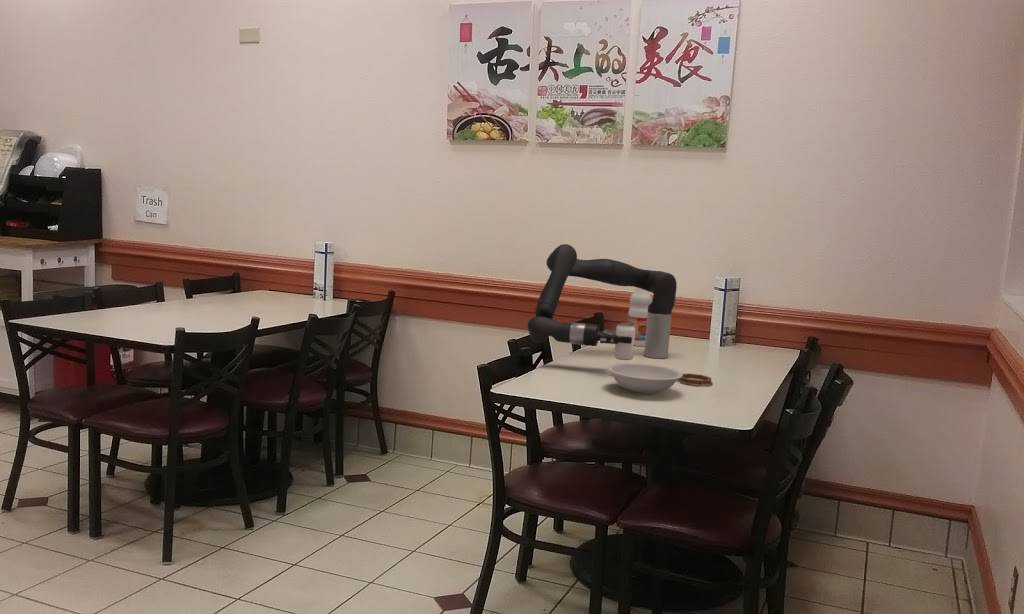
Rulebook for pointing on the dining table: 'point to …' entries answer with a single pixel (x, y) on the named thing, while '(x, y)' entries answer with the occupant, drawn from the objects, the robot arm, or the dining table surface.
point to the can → (625, 349)
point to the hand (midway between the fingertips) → (632, 339)
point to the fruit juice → (639, 314)
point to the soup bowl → (644, 376)
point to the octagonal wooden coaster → (695, 380)
